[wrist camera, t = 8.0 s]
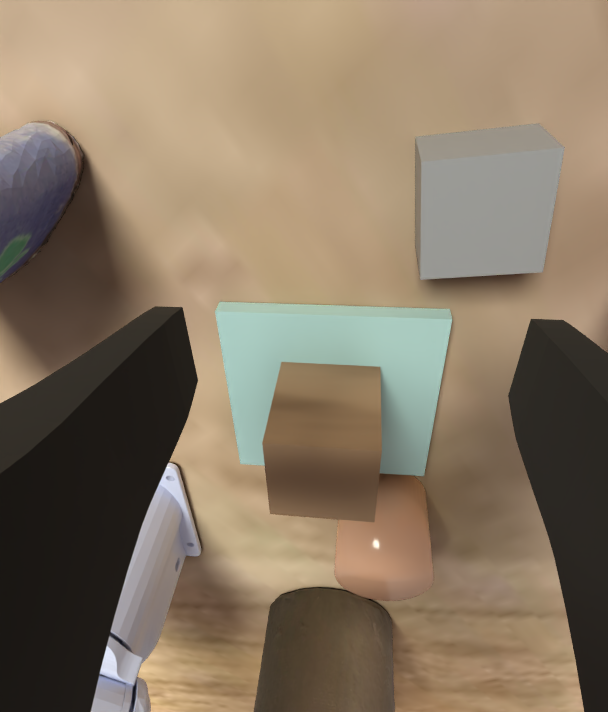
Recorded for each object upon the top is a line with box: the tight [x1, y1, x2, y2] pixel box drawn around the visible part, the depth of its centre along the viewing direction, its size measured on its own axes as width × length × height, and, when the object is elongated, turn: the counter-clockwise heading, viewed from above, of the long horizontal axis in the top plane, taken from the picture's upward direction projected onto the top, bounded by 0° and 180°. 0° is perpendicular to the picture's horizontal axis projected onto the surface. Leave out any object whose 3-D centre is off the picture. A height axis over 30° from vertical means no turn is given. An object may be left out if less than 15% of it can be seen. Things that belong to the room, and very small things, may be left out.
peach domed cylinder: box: [334, 473, 434, 601], centre depth 27 cm, size 5×5×5 cm
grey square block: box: [415, 123, 565, 280], centre depth 17 cm, size 4×4×3 cm
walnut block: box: [262, 362, 382, 522], centre depth 22 cm, size 4×4×5 cm
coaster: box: [215, 302, 452, 476], centre depth 24 cm, size 10×10×1 cm
